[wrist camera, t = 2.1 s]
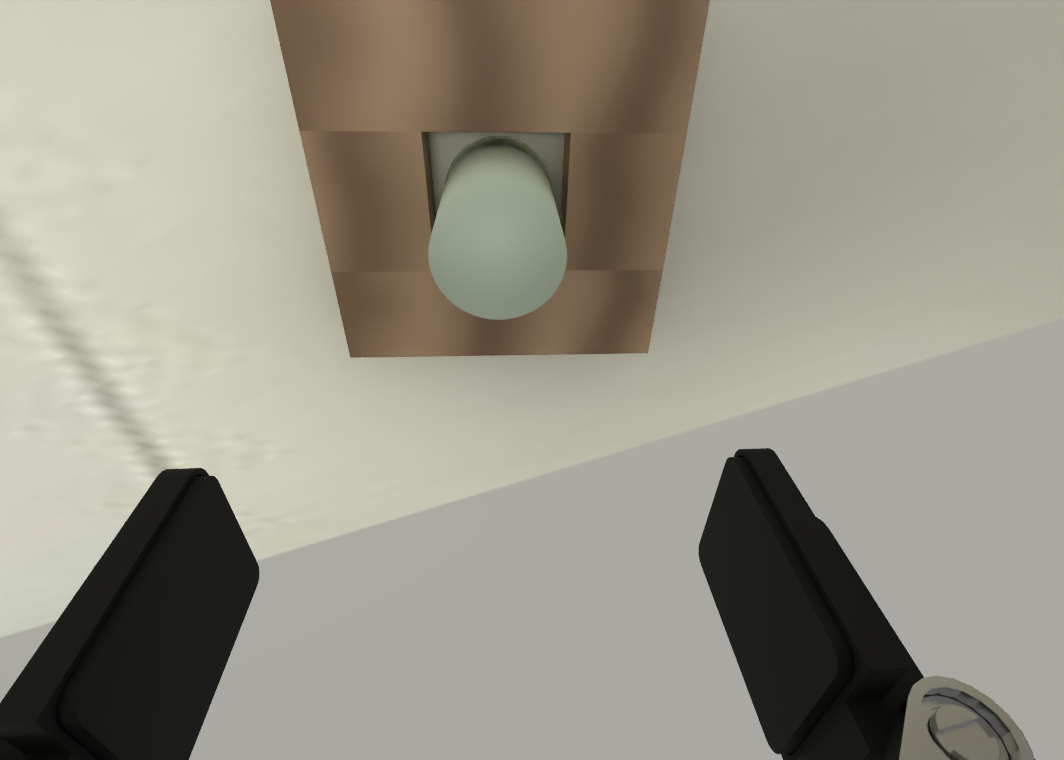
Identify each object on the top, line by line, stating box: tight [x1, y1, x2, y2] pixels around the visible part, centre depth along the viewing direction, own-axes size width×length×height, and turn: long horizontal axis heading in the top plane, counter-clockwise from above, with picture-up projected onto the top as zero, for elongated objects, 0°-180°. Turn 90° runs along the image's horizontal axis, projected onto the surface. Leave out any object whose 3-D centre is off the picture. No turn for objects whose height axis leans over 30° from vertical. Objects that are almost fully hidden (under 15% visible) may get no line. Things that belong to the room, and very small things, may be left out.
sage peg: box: [428, 136, 567, 320], centre depth 22 cm, size 5×5×8 cm
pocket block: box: [270, 0, 710, 357], centre depth 25 cm, size 16×16×2 cm
